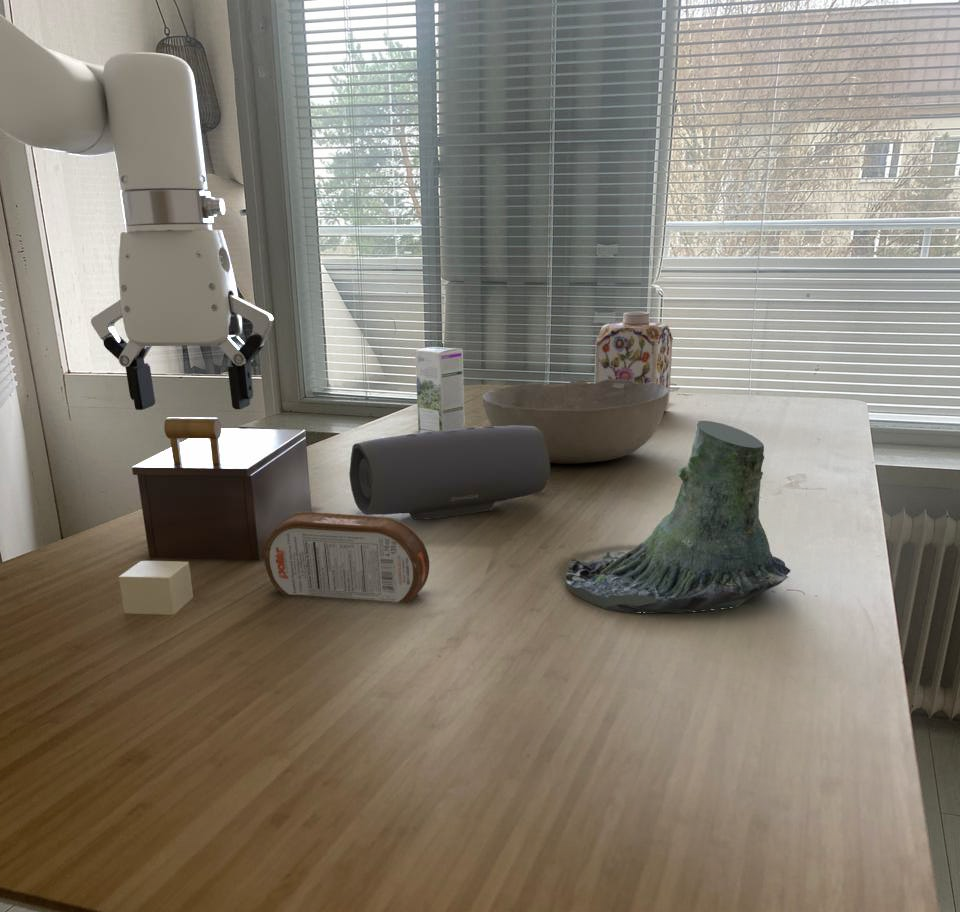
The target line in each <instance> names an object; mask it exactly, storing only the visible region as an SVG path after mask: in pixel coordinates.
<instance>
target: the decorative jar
mask: <svg viewBox="0 0 960 912" xmlns="http://www.w3.org/2000/svg"><path fill="white" fill-rule="evenodd" d="M622 317H623V318H622V321H618V322H610V323H607V324H604V325H602V327H601V328H600V331H599V334H598V335H597V337H596V338H597V339H596V341H595V354H594V355H595V357H594V377H593V378H594V382H593V383H595V384H596V383H598V382H600V381H602V380H606V379H612V380H631V381H634V382H637V383H639V382H640V383H645V384H646V383H650V382H652V383H658V384H662V385H664V386H665V387H667V388H668V390H669V394H668V399H667V404H666V407H665V410H664V412H666V411H668V409H669V405H670V393H671V376H672V356H673V355H672V352H673V340H674V336H672V332H671V330H670V325H668V324H665V323H663V322H653V321H650V312H649V311H628V312H623V315H622Z"/></svg>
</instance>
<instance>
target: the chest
mask: <svg viewBox="0 0 960 912" xmlns="http://www.w3.org/2000/svg"><path fill="white" fill-rule="evenodd" d="M308 462H309V460H308V447H307V437H306V436H305V437H304V438H302V439H301V440H300V441H298V442H297V443H295V444H294V445H292V446H291V447H289V448H288V449H287V450H285V451H284V452H282V453H281V454H279V455H278V456H276V457H275V458H274V459H272V460H271V461H269V462H268V463H266V464H265V465H263V466H262V467H261V468H259V469H258V470H256V471H255V472H253V473H252V474H250V475H249V476H248V477H235V476H170V475H136V476H137V477H136V478H137V483H138V490H139V498H140V503H141V511H142V516H143V517H142V518H143V524H144V530H145V538H146V545H147V552H148V557H149V559H179V560H180V559H181V560H182V559H183V560H222V561H223V560H224V561H261V560H262V559H264V548H265V544H266V542H267V540H268V538H269V536H270V535H271V533H272V532H273V531H274V530H275V529H276V528H277V527H278V526H279V525H280V524H281V522H282V521H284V520H285V519H286V518H288V517H289V516H291V515H293V514H296V513H300V512H313V510H312V498H311V484H310V473H309V463H308Z"/></svg>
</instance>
